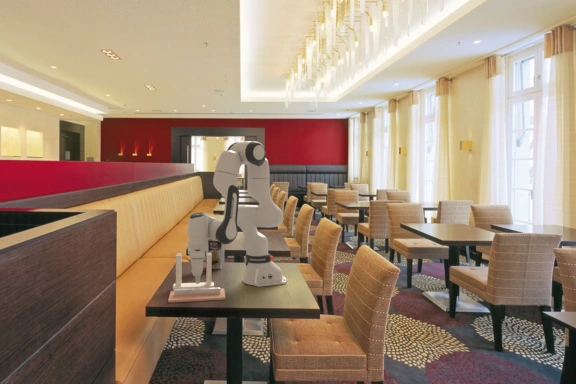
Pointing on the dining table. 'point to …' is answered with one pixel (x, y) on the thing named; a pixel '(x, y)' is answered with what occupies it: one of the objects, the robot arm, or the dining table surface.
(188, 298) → the terracotta board
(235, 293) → the dining table surface
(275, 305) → the dining table surface
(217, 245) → the coffee box
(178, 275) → the cradle stand
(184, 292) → the aluminium rail
